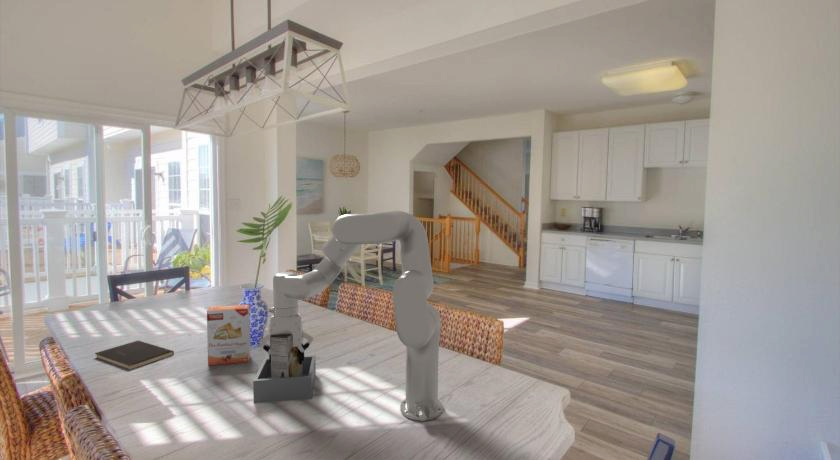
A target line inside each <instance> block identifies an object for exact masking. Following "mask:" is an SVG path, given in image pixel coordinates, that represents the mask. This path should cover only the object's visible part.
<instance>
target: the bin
mask: <svg viewBox="0 0 840 460" xmlns="http://www.w3.org/2000/svg"><path fill="white" fill-rule="evenodd" d="M316 359H317V358H316V355H304V361H302V362H303V374H302V375H301V376H299V377H284V378H271V363H269V357H265V358H263V360H262V362H261V363H260V366H259V367H258V370H257V373H256V374H255V376H254V379H253V381H252V387H253V393H252V394H253V404H262V403H274V402H287V401H290V402H291V401H299V400H300V401H302V400H312V399H313V393H314V392H313V391H314V386H315V381H316V376H317V375H316V374H317V373H316V371H317V369H316V365H317V364H316Z"/></svg>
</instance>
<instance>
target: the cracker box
mask: <svg viewBox="0 0 840 460" xmlns="http://www.w3.org/2000/svg"><path fill="white" fill-rule="evenodd" d="M250 310H251V309H250V304H241V305H240V304H239V305H237V304H236V305H219V306H218V305H217V306H216V305H215V306H209V307H208V309H207V311H206V332H207V333H206V334H207V335H206V336H207V338H206V339H207V366H217V365H229V364H230V365H231V364H241V363H249V361H250V359H251V316H250V315H251V314H250V313H251V311H250Z"/></svg>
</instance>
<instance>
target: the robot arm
mask: <svg viewBox="0 0 840 460" xmlns="http://www.w3.org/2000/svg"><path fill="white" fill-rule="evenodd" d="M331 229H332V231H331V232H332V235H331V237H329V238H328V240H327V241H326V242H325V243H324V244H323V246H322V253H323V254H324V257H323V258H322V259H321V261H320V262H319V263H318V265H316V266H315V268H314V269H313V270H312V271H309V272H305V273H302V274H296V273H295V272H292V271H283V272H281V271H280V272H278V273H275V274H274V275H273V277H272V292H273V294H272V298H273V299H272V300H273V306H272V307H269V308H268V313H271V314H272V315H271V317H270V320H269V333H268V334H267V335H265V336H264V337H262V338H261V339H260V340H259V341H258V344H259V345H260V346H261V347H262V348H263V350H264V351H265V352H266V353H267V354H268V358H269V363H271V344H270V335H281V334H292V335H293V347H298V349H299V350H300V351H299V364H300V365H301V364H302V361H304V356H305V351H306V350H307V349H308V348H309V347H310V345H311V344H312V342H313V341H314V336H312V335H310V334H308V333H307V332H305V331H304V329H303V321H302V314H301V313H299V300H301V301H304V300H307V299H309V298H312V297H314V296H316V295H318V294H320V293H322V292H323V291H325V290H326V289H327V288H329V286H330V285H331V284H332V283H333V282H334V281H335V280H336V279H337V277H338V276H339V275H340V273H341V272H342V270H343V269H344V267H345V264H346V263H347V262H348V261H349V260H350V258H351V257H352V256H353V255H354V254H355V253H356V251H357V250H359V249H360V247H361V246H362V245H379V244H381V245H382V244H388V243H389V244H390V243H393V242H396V241H398V242H399V244H400V251H399V252H400V263H401V275H400V276H399V277H398V278H397V279H396V280H395V282H394V283H393V286H392V287H393V288H392V305H393V313H394V314H393V315H394V323H395V329H396V334H397V337H398V339H399V340H400V342H401V343H402V344H403V345H404V346H405V347H406V349H405V350H406V351H405V353H406V354H405V356H406V357H405V399H404V400H402V401H401V403H400V406H399V407H400V408H399V409H400V412H401V414H402V416H404V417H405V418H407V419H409V420H414V421H422V422H424V421H430V420H434V419H437V418H439V417H440V415H442V413H443V411H444V409H443V407H444V406H443V403H442V402H441V400H438V399H439V359H440V358H439V357H440V355H439V353H440V352H439V351H440V335H441V327H442V322H441V321H442V320H441V315H440V313H439V311H438V310H437V308H436V307H435V306H434V305H432V304H430V303H428V299H429V298H430V297H431V295H432V294H433V292H434V288H435V286H434V278H433V277H434V276H433V270H432V269H433V268H432V262H431V261H432V260H431V253H430V247H429V246H430V245H429V239H428V235H427V232H426V229H425V227H424V225H423V223H422V222H421V221H420V219H418V217H416V216H415V215H413V214H411V213H410V212H409V213H408V212H405V211H400V210H390V211H385V212H384V211H383V212H373V213H372V212H371V213H359V212H357V213H355V212H353V213H345V214H342V215H340V216H338V217H337V218H336V219H335V221H334V222H333V224H332V228H331ZM304 339H306V340H307V341H306V342H305V343H303V341H304ZM267 341H268V344H267V343H266V342H267Z"/></svg>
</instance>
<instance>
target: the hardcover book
mask: <svg viewBox="0 0 840 460" xmlns="http://www.w3.org/2000/svg"><path fill="white" fill-rule="evenodd" d="M94 355H96V358H97V359H101V360H103V361H106V362H109V363H111V364H114V365H117V366H120V367H121V368H125V369H128V370H133V369H136V368H139V367H141V366H144V365H147V364H150V363H154V362H156V361H158V360H161V359H164V358H168V357H170V356H173V355H175V351H174V350H173V349H172V350H171V349H168V348H165V347H161V346H159V345H155V344H153V343H148V342H145V341H142V340H135V341H131V342H128V343H125V344H121V345H118V346H115V347H111V348H107V349H104V350H100V351H97V352H94Z"/></svg>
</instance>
